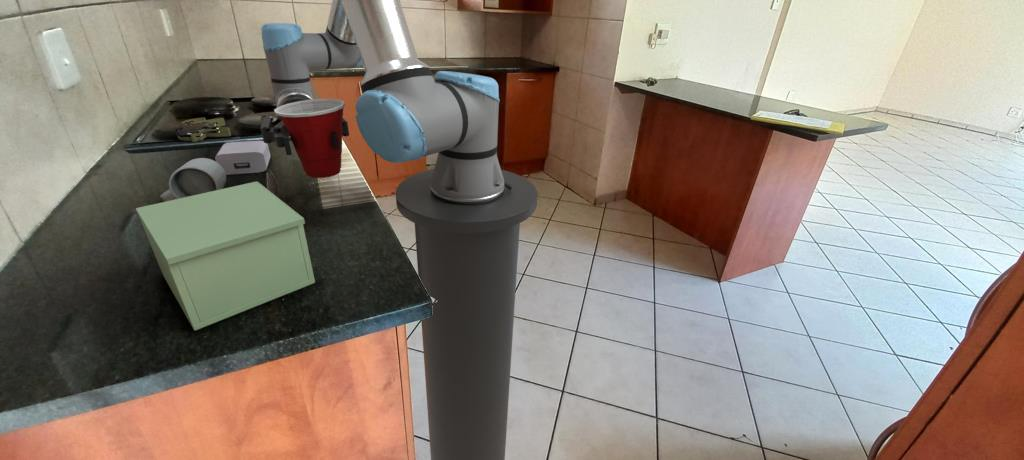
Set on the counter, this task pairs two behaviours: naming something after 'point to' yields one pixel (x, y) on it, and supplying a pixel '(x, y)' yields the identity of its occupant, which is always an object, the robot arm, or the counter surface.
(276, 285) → the bin
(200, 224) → the bin lid
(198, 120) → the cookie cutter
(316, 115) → the plastic cup
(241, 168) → the charger
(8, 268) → the counter surface
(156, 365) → the counter surface
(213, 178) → the ceramic mug
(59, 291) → the counter surface
